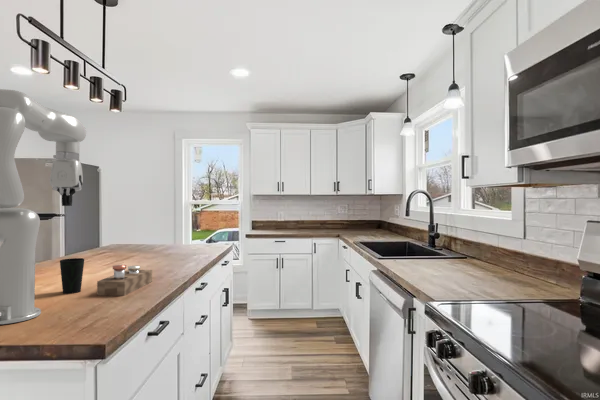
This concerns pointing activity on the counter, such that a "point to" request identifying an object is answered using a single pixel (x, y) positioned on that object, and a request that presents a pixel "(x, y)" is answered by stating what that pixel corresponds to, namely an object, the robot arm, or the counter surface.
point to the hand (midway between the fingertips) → (66, 205)
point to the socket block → (124, 283)
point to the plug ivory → (133, 269)
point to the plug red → (119, 272)
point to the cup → (71, 274)
